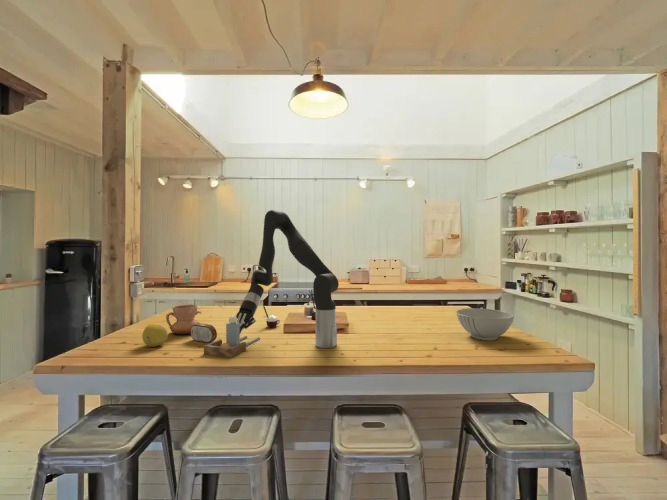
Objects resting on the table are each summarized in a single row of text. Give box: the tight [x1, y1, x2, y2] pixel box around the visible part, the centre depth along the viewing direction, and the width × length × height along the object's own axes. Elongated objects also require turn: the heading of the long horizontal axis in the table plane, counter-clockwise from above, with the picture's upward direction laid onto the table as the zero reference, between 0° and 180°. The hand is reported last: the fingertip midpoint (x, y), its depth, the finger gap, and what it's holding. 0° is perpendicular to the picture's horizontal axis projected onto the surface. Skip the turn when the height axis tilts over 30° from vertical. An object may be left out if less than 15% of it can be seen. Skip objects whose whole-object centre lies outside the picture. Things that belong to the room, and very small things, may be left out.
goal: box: [203, 339, 247, 358], centre depth 153 cm, size 14×10×4 cm
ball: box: [220, 342, 230, 348], centre depth 153 cm, size 4×4×4 cm
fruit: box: [141, 323, 169, 348], centre depth 162 cm, size 10×11×10 cm
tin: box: [190, 322, 218, 344], centre depth 169 cm, size 15×3×8 cm, turn 65°
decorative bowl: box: [455, 307, 515, 341], centre depth 178 cm, size 27×27×12 cm
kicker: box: [225, 315, 241, 348], centre depth 158 cm, size 5×4×14 cm
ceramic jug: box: [165, 303, 203, 335], centre depth 185 cm, size 18×14×14 cm
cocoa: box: [262, 305, 281, 328], centre depth 198 cm, size 10×6×12 cm, turn 98°
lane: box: [240, 335, 261, 347], centre depth 166 cm, size 8×17×1 cm, turn 161°
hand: (235, 335), depth 160 cm, fingers closed
